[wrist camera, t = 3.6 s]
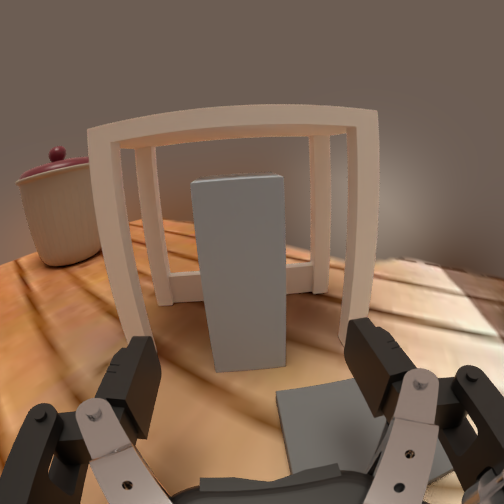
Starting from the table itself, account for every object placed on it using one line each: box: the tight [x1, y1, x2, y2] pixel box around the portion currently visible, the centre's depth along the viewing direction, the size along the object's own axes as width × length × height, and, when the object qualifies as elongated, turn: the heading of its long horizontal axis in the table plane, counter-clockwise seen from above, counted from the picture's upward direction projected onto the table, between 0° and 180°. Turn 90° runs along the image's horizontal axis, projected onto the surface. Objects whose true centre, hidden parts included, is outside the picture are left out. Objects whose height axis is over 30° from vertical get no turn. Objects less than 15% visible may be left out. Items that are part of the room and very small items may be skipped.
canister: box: [15, 146, 101, 266], centre depth 42 cm, size 18×18×21 cm
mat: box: [276, 378, 454, 485], centre depth 12 cm, size 9×9×1 cm
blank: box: [190, 172, 286, 372], centre depth 19 cm, size 5×5×13 cm
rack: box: [87, 104, 380, 352], centre depth 22 cm, size 11×18×17 cm, turn 94°
